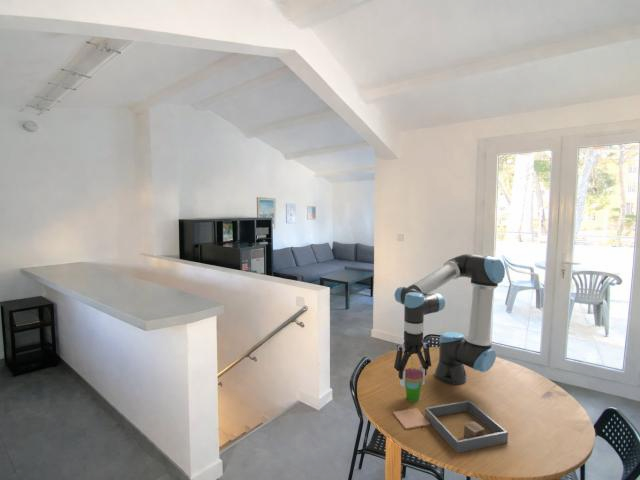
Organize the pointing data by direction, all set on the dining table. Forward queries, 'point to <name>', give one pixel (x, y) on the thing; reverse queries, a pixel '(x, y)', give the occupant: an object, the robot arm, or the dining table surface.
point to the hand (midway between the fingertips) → (412, 384)
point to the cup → (413, 393)
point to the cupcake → (413, 377)
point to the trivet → (411, 418)
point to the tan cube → (473, 430)
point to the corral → (471, 443)
